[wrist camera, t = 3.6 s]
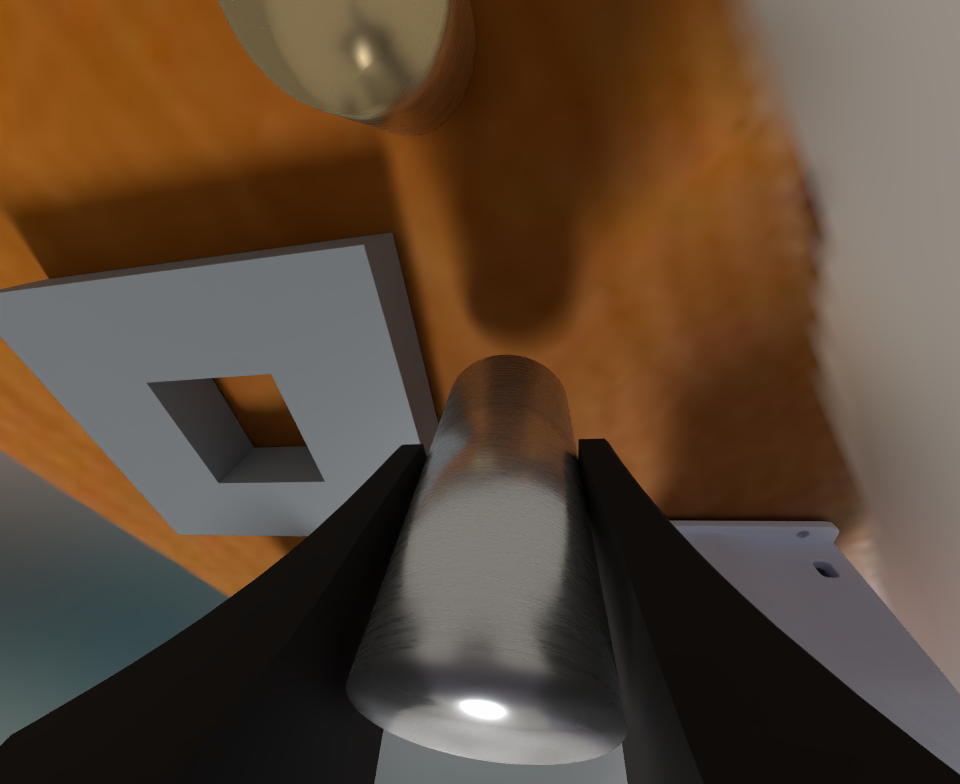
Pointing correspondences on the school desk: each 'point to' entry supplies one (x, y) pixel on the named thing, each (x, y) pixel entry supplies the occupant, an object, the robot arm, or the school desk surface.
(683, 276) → the school desk surface
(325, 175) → the school desk surface
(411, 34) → the short pin
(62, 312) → the hole board
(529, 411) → the long pin
